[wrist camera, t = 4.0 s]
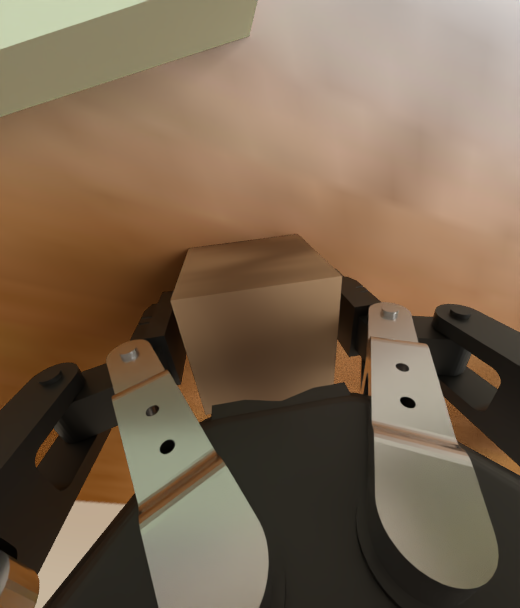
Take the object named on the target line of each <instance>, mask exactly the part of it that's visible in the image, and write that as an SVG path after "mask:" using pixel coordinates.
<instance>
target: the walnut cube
mask: <svg viewBox="0 0 520 608" xmlns="http://www.w3.org/2000/svg"><path fill="white" fill-rule="evenodd" d="M341 285H342V275H341V274H340V273H339V272H338V271H336V270H335V269H334V268H333V267H332V266H331V265H330V264H329V263H328V262H327V261H326V260H325V259H324V258H323V257H322V256H321V255H320V254H318V253H317V252H316V251H315V250H314V249H313V248H312V247H311V246H310V245H309V244H308V243H307V242H306V241H305V240H304V239H303V238H302V237H300V236H299V235H298V234H294V235H286V236H279V237H271V238H263V239H256V240H248V241H240V242H232V243H225V244H217V245H209V246H202V247H194V248H189V250H188V252H187V255H186V258H185V261H184V264H183V266H182V269H181V272H180V275H179V278H178V280H177V283H176V286H175V289H174V292H173V294H172V297H171V300H170V301H171V305H172V308H173V311H174V314H175V318H176V321H177V324H178V327H179V330H180V334H181V337H182V340H183V343H184V347H185V350H186V353H187V356H188V359H189V363H190V366H191V369H192V372H193V375H194V379H195V382H196V385H197V388H198V392H199V395H200V398H201V401H202V404H203V408H204V411H205V414H206V415H207V414H212V405H217V404H223V403H229V402H234V401H240V400H265V401H282V400H285V399H288V398H290V397H292V396H295V395H297V394H299V393H302V392H304V391H306V390H309V389H311V388H315V387H320V386H326V385H332V384H334V373H335V360H336V348H337V335H338V323H339V310H340V298H341Z"/></svg>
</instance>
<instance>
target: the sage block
mask: <svg viewBox="0 0 520 608" xmlns="http://www.w3.org/2000/svg"><path fill="white" fill-rule="evenodd" d="M257 1H258V0H0V117H2V116H5V115H8V114H11V113H14V112H17V111H20V110H23V109H26V108H30V107H33V106H36V105H39V104H42V103H45V102H48V101H51V100H54V99H57V98H60V97H63V96H67V95H70V94H73V93H76V92H79V91H82V90H85V89H88V88H91V87H94V86H97V85H100V84H103V83H107V82H110V81H113V80H116V79H119V78H122V77H125V76H128V75H131V74H134V73H137V72H140V71H143V70H147V69H150V68H153V67H156V66H159V65H162V64H165V63H168V62H171V61H174V60H177V59H180V58H184V57H187V56H190V55H193V54H196V53H199V52H202V51H205V50H208V49H211V48H214V47H217V46H220V45H224V44H227V43H230V42H233V41H236V40H239V39H242V38H245V37H248V36H249V35H250V31H251V26H252V22H253V18H254V13H255V9H256V5H257Z"/></svg>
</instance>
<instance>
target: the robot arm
mask: <svg viewBox="0 0 520 608" xmlns="http://www.w3.org/2000/svg"><path fill="white" fill-rule="evenodd" d="M335 270H336V271H338V270H337V269H335ZM338 272H339V271H338ZM339 273H340V272H339ZM340 274H341V273H340ZM341 275H342V274H341ZM173 292H174V291H168V292H163V293H162V295H161V297H160V300H159V302H158V304H152V305H151V306H150V307H149V308H148V309H147V310H145V312H144V314H143V316H142V317H141V319H140V321H139V323H138V324H139V325H137V327H136V329H135V331H134V333H133V335H132V337H131V339H130V341H128V342H125V343H123V344H121V345H119V346H117V347H116V348H114V349H113V350H112V351H111V352H110V353H109V354H108V356H107V358H106V363H105V364H103V365H100V366H97V367H95V368H92V369H89V370H86V371H83V372H81V371H80V369H79V368H78V366H77V365H76V364H74V363H61V364H58V365H54V366H52V367H49V368H47V369H45V370H43V371H42V372H40V373H39V374H37V375H36V376H34V377H33V378H32V379H31V380H30V381H29V382H28V383H27V384H26V385H25V386H24V387H23V388H22V389H21V390H20V391H19V392H18V393H17V394H16V395H15V396H14V397H13V398H12V399H11V400H10V401H9V402H8V403H7V404H6V405H5V406H4V407H3V408H2V409H1V410H0V608H34V607H35V604H36V602H37V598H38V594H39V578H38V573H39V571H40V569H41V567H42V565H43V563H44V561H45V559H46V557H47V555H48V553H49V551H50V549H51V547H52V545H53V543H54V541H55V539H56V537H57V535H58V533H59V531H60V530H61V527H62V525H63V524H64V521H65V519H66V517H67V516H68V513H69V512H70V510H71V508H72V506H73V504H74V502H75V500H76V498H77V496H78V494H79V492H80V490H81V488H82V486H83V484H84V482H85V480H86V478H87V476H88V474H89V472H90V470H91V468H92V466H93V464H94V462H95V460H96V458H97V456H98V455H99V453H100V451H101V449H102V447H103V445H104V443H105V441H106V439H107V437H108V435H109V433H110V431H111V428H113V427H115V426H117V425H118V426H119V430H120V434H121V438H122V442H123V446H124V450H125V454H126V458H127V462H128V466H129V470H130V474H131V478H132V482H133V486H134V490H135V494H134V495H133V496H132V497H131V498H130V500H129V501H128V502H127V503H126V505H125V506H124V507H123V509H122V510H121V511H120V512H119V513H118V515H117V516H116V517H115V518H114V520H113V521H112V522H111V523H110V525H109V526H108V527H107V528H106V530H105V531H104V532H103V533H102V535H101V536H100V537H99V538H98V539H97V541H96V542H95V543H94V544H93V546H92V547H91V548H90V550H89V551H88V552H87V553H86V554H85V556H84V557H83V558H82V559H81V561H80V562H79V563H78V564H77V566H76V567H75V568H74V569H73V570H72V572H71V573H70V574H69V576H68V577H67V578H66V579H65V580H64V582H63V583H62V584H61V585H60V587H59V588H58V589H57V590H56V592H55V593H54V594H53V595H52V597H51V598H50V599H49V600H48V601H47V603H46V604H45V605H44V606H43V608H520V476H519V475H517V474H516V473H514V472H512V471H510V470H508V469H507V468H505V467H503V466H501V465H499V464H498V463H496V462H494V461H492V460H490V459H488V458H487V457H485V456H483V455H481V454H479V453H478V452H476V451H474V450H472V449H470V448H469V447H467V446H465V445H463V444H461V443H460V442H458V441H457V440H456V437H455V434H454V431H453V427H452V424H451V421H450V417H449V414H448V410H447V407H446V404H445V400H444V397H445V398H446V399H447V400H448V401H449V402H450V403H451V404H452V405H454V406H455V407H456V408H457V409H458V410H459V411H460V412H461V413H462V414H463V415H464V416H465V417H467V418H468V419H469V420H470V421H471V422H472V423H473V424H474V425H475V426H476V427H477V428H479V429H480V430H481V431H482V432H483V433H484V434H485V435H486V436H487V437H488V438H489V439H491V440H492V441H493V442H494V443H495V444H496V445H497V446H498V447H499V448H500V449H501V450H503V451H504V452H505V453H506V454H507V455H508V456H509V457H510V458H511V459H512V460H513V461H514V462H516V463H517V464H518V465H519V466H520V332H518V331H516V330H514V329H512V328H510V327H508V326H506V325H504V324H502V323H500V322H498V321H496V320H494V319H492V318H490V317H488V316H486V315H484V314H483V313H481V312H479V311H477V310H474V309H472V308H469V307H466V306H462V305H456V304H444V305H440V306H438V307H437V308H436V310H435V313H434V316H433V317H424V316H412V315H411V313H410V311H409V310H408V309H406V308H405V307H403V306H401V305H398V304H394V303H388V302H380V301H379V300H378V299H377V298H376V297H375V296H374V295H372V294H371V293H370V292H369V291H368V290H367V289H366V288H364V287H363V286H362V285H361V284H360V283H359V282H358V281H356V280H354V279H351V278H349V277H344V276H343V275H342V285H341V298H340V310H339V323H338V335H337V339H338V341H339V342H340V344H341V345H342V347H343V348H344V350H345V351H346V353H347V355H348V356H349V357H351V356H357V355H360V356H361V364H360V385H359V393H350V392H349V390H348V388H347V387H346V385H345V383H344V382H343V383H337V384H332V385H326V386H320V387H315V388H311V389H309V390H306V391H304V392H302V393H299V394H297V395H295V396H292V397H290V398H288V399H285V400H282V401H265V400H240V401H234V402H229V403H223V404H217V405H212V414H211V417H210V418H208V419H205V420H204V421H202V422H200V423H199V422H198V421H197V419H196V417H195V416H194V414H193V412H192V410H191V409H190V407H189V405H188V403H187V402H186V400H185V398H184V397H183V395H182V393H181V391H180V390H179V388H178V386H177V385H180V384H181V382H182V376H183V370H184V364H185V359H186V350H185V347H184V343H183V340H182V337H181V334H180V330H179V327H178V324H177V321H176V318H175V314H174V311H173V308H172V305H171V301H170V300H171V297H172V294H173ZM471 354H473V355H475V356H476V357H478V358H479V359H480V360H482V361H483V362H485V363H486V364H488V365H489V366H491V367H492V368H494V369H495V370H496V371H497V373H498V374H499V376H500V379H501V384H500V386H499V388H498V389H496V388H495V387H494V386H492V385H491V384H490V383H488V382H487V381H486V380H484V379H483V378H481V377H480V376H479V375H477V374H476V373H475V372H473V371H472V370H471V369H469V368H468V367H466V365H467V363H468V361H469V359H470V356H471ZM443 396H444V397H443ZM53 428H54V429H55V431H56V432H57V433H58V434H59V436H58V437H57V439H56V440H55V442H54V443H53V444H52V446H51V447H50V449H49V450H48V452H47V453H46V455H45V456H44V458H43V459H42V461H41V462H40V463H39V465H38V466H37V468H36V466H35V457H36V453H37V451H38V449H39V447H40V446H41V444H42V443H43V442H44V440H45V439H46V438H47V436H48V435H49V433H50V432H51V431H52V429H53Z"/></svg>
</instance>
